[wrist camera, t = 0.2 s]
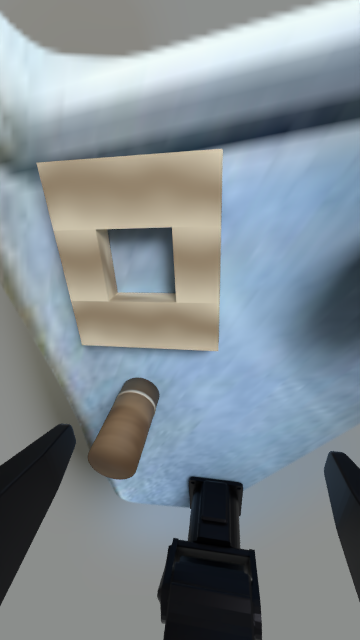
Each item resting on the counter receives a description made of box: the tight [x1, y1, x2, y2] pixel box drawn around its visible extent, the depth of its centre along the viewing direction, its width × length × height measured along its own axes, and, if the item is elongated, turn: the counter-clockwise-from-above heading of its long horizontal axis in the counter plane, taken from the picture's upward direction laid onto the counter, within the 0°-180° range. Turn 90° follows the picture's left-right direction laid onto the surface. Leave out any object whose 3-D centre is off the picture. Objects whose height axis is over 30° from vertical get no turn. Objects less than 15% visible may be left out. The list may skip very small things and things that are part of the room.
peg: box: [88, 378, 159, 479], centre depth 24 cm, size 4×4×8 cm
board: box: [37, 149, 223, 351], centre depth 20 cm, size 14×12×2 cm
